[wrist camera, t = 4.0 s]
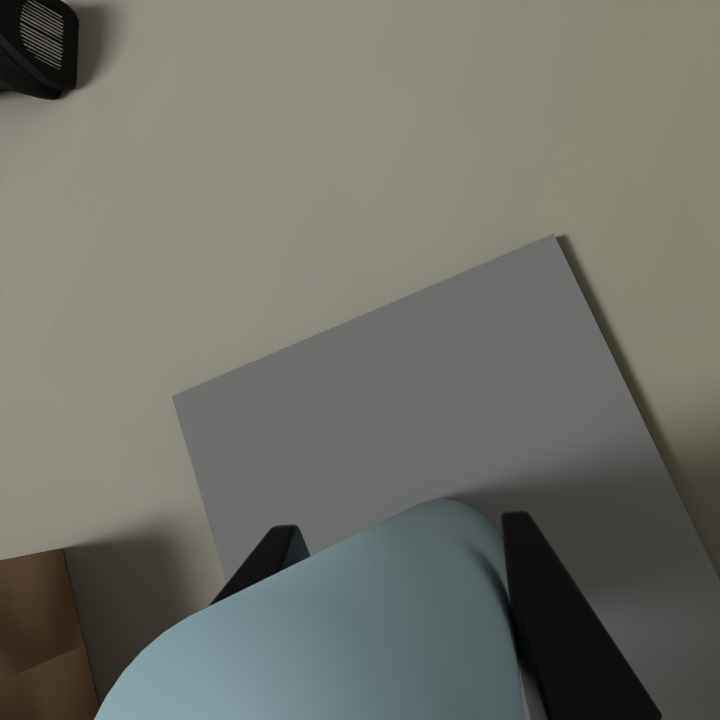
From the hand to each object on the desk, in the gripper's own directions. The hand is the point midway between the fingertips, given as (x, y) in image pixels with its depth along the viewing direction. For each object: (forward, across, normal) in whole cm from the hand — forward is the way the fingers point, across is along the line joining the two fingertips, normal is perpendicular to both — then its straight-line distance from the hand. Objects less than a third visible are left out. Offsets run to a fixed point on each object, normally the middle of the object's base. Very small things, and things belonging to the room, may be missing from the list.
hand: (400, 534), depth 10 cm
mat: (+4, 0, +6) cm, 7 cm away
